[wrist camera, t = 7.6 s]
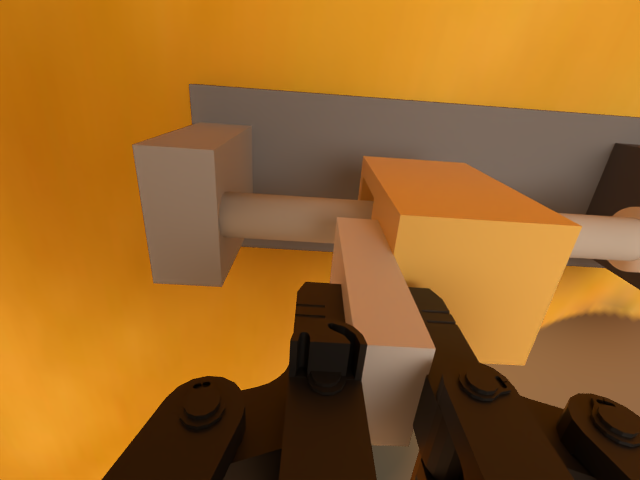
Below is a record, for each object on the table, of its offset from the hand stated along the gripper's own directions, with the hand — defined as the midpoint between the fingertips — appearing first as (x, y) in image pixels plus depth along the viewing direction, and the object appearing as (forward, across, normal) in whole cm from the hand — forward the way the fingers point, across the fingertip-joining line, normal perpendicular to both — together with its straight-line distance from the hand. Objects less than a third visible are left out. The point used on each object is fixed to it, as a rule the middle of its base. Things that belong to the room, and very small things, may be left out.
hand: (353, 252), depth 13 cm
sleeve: (+5, +3, 0) cm, 6 cm away
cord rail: (+11, +6, 0) cm, 12 cm away
